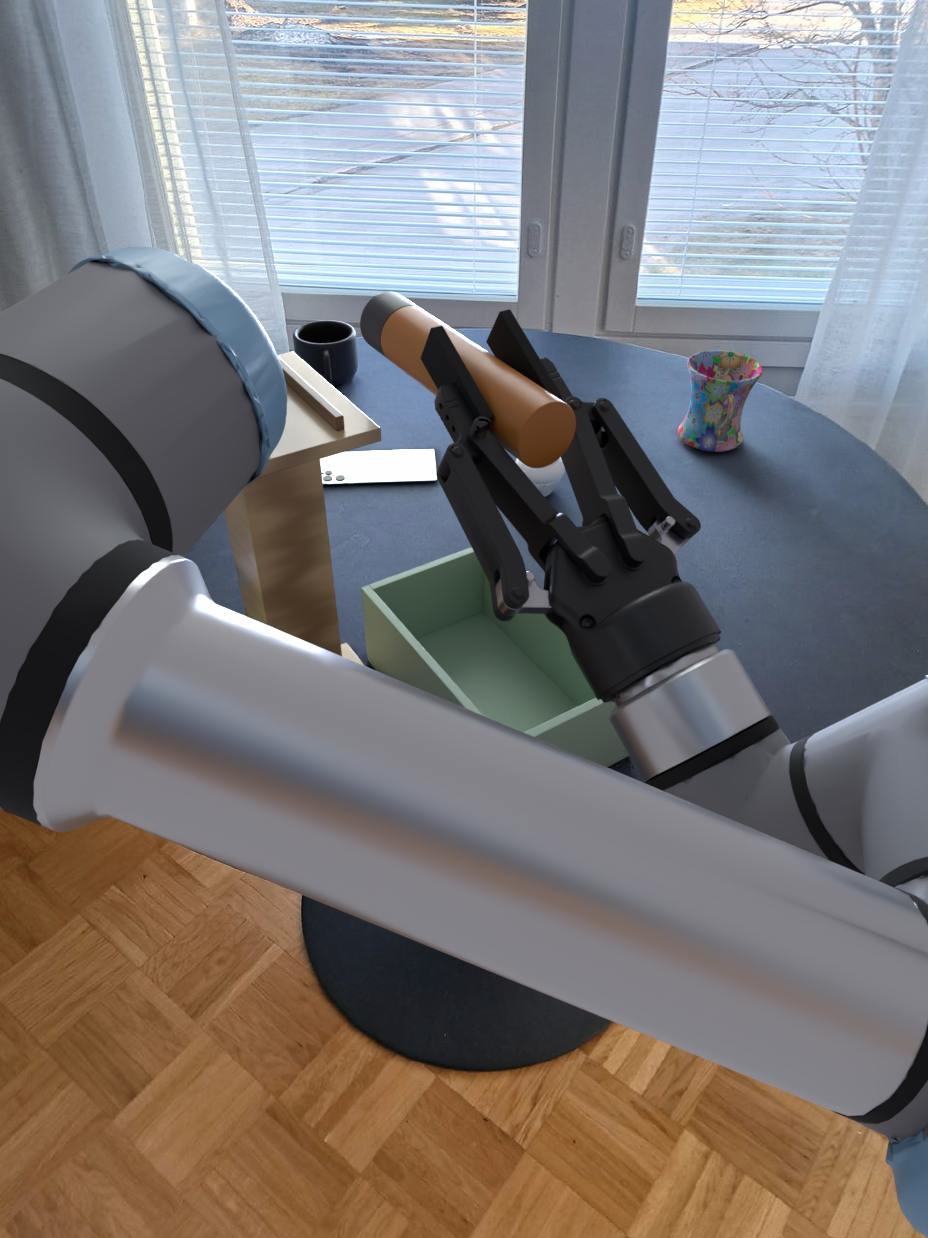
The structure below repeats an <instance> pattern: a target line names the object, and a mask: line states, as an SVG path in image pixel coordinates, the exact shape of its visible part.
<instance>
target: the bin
mask: <svg viewBox="0 0 928 1238" xmlns="http://www.w3.org/2000/svg"><path fill="white" fill-rule="evenodd" d="M360 592H361V599H362V600H361V602H362V603H361V605H362V615H363V625H364V637H365V649H366V660H367V661H368V662H369V664H371V666H372V667H373V668H374V670H375V671H378V672H380V673H382V674H385V675H387V676H390V677H392V678H394V679H397V680H399V681H402V682H404V683H406V684H409V685H411V686H414V687H416V688H418V689H421V690H423V691H425V692H428V693H430V694H433V695H435V696H437V697H440V698H442V699H445V700H447V701H449V702H452V703H454V704H457V705H459V706H461V707H464V708H466V709H468V710H471V711H473V712H476V713H478V714H480V715H483V716H485V717H488V718H490V719H492V720H495V721H497V722H500V723H502V724H504V725H507V726H509V727H511V728H514V729H516V730H519V731H521V732H523V733H526V734H528V735H531V736H533V737H535V738H538V739H540V740H543V741H545V742H547V743H550V744H552V745H554V746H557V747H559V748H562V749H564V750H566V751H569V752H571V753H574V754H576V755H578V756H581V757H583V758H586V759H588V760H590V761H593V762H595V763H597V764H600V765H602V766H605V767H607V768H609V767H610V766H613V765H614V764H616V763H618V762H620V761H621V760H623V759H625V758H627V757H629V755H628V753H627V751H626V749H625V748H624V746H623V744H622V742H621V740H620V738H619V737H618V735H617V733H616V731H615V729H614V728H613V726H612V724H611V722H610V720H609V716H610V712H611V711H612V710H614V709H615V707H614V705H613V704H612V702H611V701H610V702H606V703H604V702H602V700H597V698H596V697H595V695H594V693H593V691H592V690H591V688H590V686H589V684H588V682H587V681H586V679H585V677H584V675H583V673H582V672H581V670H580V668H579V666H578V665H577V663H576V661H575V659H574V657H573V655H572V653H571V650H570V646H569V643H568V640H567V638H566V636H565V634H564V633H563V632H562V631H561V630H560V629H559V628H558V627H557V626H555V625H554V624H553V623H551V622H550V621H549V620H548V619H547V618H546V616H545V615H544V614H516V615H515V616H514V617H513V618H512V619H511V620H509V621H501V620H499V619H497V617H496V616H495V615H494V612H493V605H492V597H491V589H490V582H489V580H488V579H487V577H486V575H485V573H484V571H483V569H482V567H481V565H480V563H479V561H478V559H477V557H476V555H475V553H474V551H473V549H472V547H471V546H470V547H468V548H466V549H463V550H460V551H457V552H454V553H452V554H448V555H446V556H444V557H441V558H438V559H435V560H433V561H430V562H427V563H424V564H421V565H420V566H416V567H414V568H411V569H408V570H405V571H403V572H399V573H398V574H395V575H392V576H389V577H386V578H382V579H381V580H379V581H378V580H377V581H375V582H373V583H370V584H368V585H364V586H362V587H361V589H360Z"/></svg>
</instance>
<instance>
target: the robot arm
mask: <svg viewBox="0 0 928 1238" xmlns="http://www.w3.org/2000/svg"><path fill="white" fill-rule="evenodd" d="M486 344H487V345H488V347H489V348H490V351H491V353H492V355H493V356H495V357H496V358H498V359H499V360H501V361H502V362H504V363H505V364H507V365H508V366H510V367H511V368H513V369H515V370H516V371H518V372H519V373H521V374H522V375H524V376H525V377H527V378H528V379H530V380H531V381H533V382H534V383H536V384H537V385H539V386H540V387H542V388H543V389H545V390H546V391H548V392H550V393H551V394H553V395H554V396H556V397H557V398H559V399H560V400H562V401H563V402H565V403H566V404H568V405H569V406H570V407H571V408H572V410H573V412H574V414H575V418H576V429H575V434H574V437H573V439H572V442H571V444H570V446H569V447H568V449H567V450H566V451H565V453H564V454H563V455H562V456H561V459H562V462H563V464H564V467H565V472H566V475H567V478H568V481H569V484H570V486H571V489H572V491H573V495H574V498H575V500H576V502H577V503H576V504H577V506H578V509H579V511H580V514H581V517H582V523H581V526H577V524H575V523H574V522H573V520H572V519H571V518H570V517H569V516H568V515H567V514H566V513H563V512H558V511H557V510H556V509H555V507H554V506H553V505H552V503H550V502H549V501H548V499H547V498H546V496H545V497H544V496H543V495H542V493H541V492H540V491H539V490H538V489H537V487H536V486H535V485H534V484H533V483H532V481H531V480H530V479H529V478H528V477H527V476H526V474H525V473H524V472H523V471H522V470H521V468H520V467H519V466H518V465H517V464H516V462H515V461H516V460H514V459H513V458H512V456H511V454H510V453H509V452H508V451H507V450H505V449H504V448H503V447H502V446H501V444H500V443H499V442H498V441H497V440H496V439H495V437H494V436H493V435H492V434H491V433H490V431H489V430H488V429H489V426H490V424H491V422H492V421H493V419H494V417H495V416H494V414H493V412H492V411H491V409H490V407H489V406H488V404H487V402H486V400H485V399H484V397H483V395H482V393H481V392H480V390H479V388H478V386H477V385H476V383H475V381H474V380H473V378H472V376H471V374H470V373H469V371H468V369H467V367H466V366H465V364H464V362H463V360H462V359H461V357H460V355H459V353H458V352H457V350H456V348H455V347H454V345H453V343H452V341H451V340H450V338H449V336H448V334H447V333H446V331H445V329H444V327H443V326H442V325H441V326H437V327H433V328H431V329H430V332H429V335H428V338H427V341H426V344H425V346H424V349H423V352H422V355H421V358H420V359H421V361H422V362H423V364H424V366H425V368H426V370H427V371H428V373H429V375H430V377H431V378H432V380H433V382H434V384H435V386H436V387H437V389H438V393H437V396H435V399H434V401H433V402H434V408H435V409H434V410H435V411H436V413H437V415H438V417H439V419H440V420H441V422H442V424H443V425H444V427H445V430H446V431H447V433H448V435H449V436H450V438H451V440H452V443H450V444H448V446H447V447H446V450H445V452H444V454H443V457H442V459H441V460H440V463H439V465H438V467H437V468H436V476H437V481H438V483H439V485H440V487H441V489H442V491H443V493H444V495H445V498H446V499H447V501H448V503H449V504H450V506H451V509H452V511H453V513H454V515H455V517H456V519H457V520H458V523H459V524H460V527H461V528H462V531H463V533H464V535H465V537H466V538H467V541H468V543H469V544H470V548H471V547H472V549H473V551H474V553H475V555H476V557H477V559H478V561H479V563H480V565H481V567H482V569H483V571H484V573H485V575H486V577H487V579H488V580H489V582H490V589H491V597H492V605H493V612H494V615H495V616H496V617H497V619H499V620H501V621H509V620H511V619H512V618H513V617H514V616H515V615H516V614H544V615H545V616H546V618H547V619H548V620H549V621H550V622H551V623H553V624H554V625H555V626H557V627H558V628H559V629H560V630H561V631H562V632H563V633H564V634H565V636H566V638H567V640H568V643H569V646H570V650H571V653H572V655H573V657H574V659H575V661H576V663H577V665H578V666H579V668H580V670H581V672H582V673H583V675H584V677H585V679H586V681H587V682H588V684H589V686H590V688H591V690H592V691H593V693H594V695H595V697H596V698H597V700H602V702H604V703H606V702H610V701H611V702H612V704H613V705H614V707H615V709H614V710H612V711H611V712H610V716H609V720H610V722H611V724H612V726H613V728H614V729H615V731H616V733H617V735H618V737H619V738H620V740H621V742H622V744H623V746H624V748H625V749H626V751H627V753H628V755H629V756H628V757H629V758H630V760H631V763H632V764H633V766H634V767H635V769H636V771H637V773H638V775H639V776H640V778H641V780H642V781H641V780H638V779H635V778H634V777H631V776H629V775H626V774H624V773H621V772H619V771H617V770H614V769H612V768H609V767H605V766H602V765H600V764H597V763H595V762H593V761H590V760H588V759H586V758H583V757H581V756H578V755H576V754H574V753H571V752H569V751H566V750H564V749H562V748H559V747H557V746H554V745H552V744H550V743H547V742H545V741H543V740H540V739H538V738H535V737H533V736H531V735H528V734H526V733H523V732H521V731H519V730H516V729H514V728H511V727H509V726H507V725H504V724H502V723H500V722H497V721H495V720H492V719H490V718H488V717H485V716H483V715H480V714H478V713H476V712H473V711H471V710H468V709H466V708H464V707H461V706H459V705H457V704H454V703H452V702H449V701H447V700H445V699H442V698H440V697H437V696H435V695H433V694H430V693H428V692H425V691H423V690H421V689H418V688H416V687H414V686H411V685H409V684H406V683H404V682H402V681H399V680H397V679H394V678H392V677H390V676H387V675H385V674H382V673H380V672H378V671H376V669H373V668H370V667H368V666H366V665H365V666H363V665H361V664H359V663H356V662H354V661H351V660H349V659H347V658H344V657H342V656H340V655H337V654H335V653H332V652H330V651H328V650H325V649H323V648H320V647H318V646H316V645H313V644H311V643H308V642H306V641H304V640H301V639H299V638H297V637H294V636H292V635H289V634H287V633H285V632H282V631H280V630H277V629H275V628H273V627H270V626H268V625H265V624H263V623H261V622H258V621H256V620H254V619H251V618H249V617H246V615H245V614H241V613H240V612H237V611H235V610H233V609H230V608H227V607H225V606H222V605H220V604H218V603H216V602H215V601H214V599H212V597H211V595H210V592H209V590H208V586H207V585H206V582H205V580H204V577H203V575H202V573H201V570H200V568H199V567H198V565H197V564H196V562H195V561H193V560H191V559H188V558H186V556H187V555H188V554H189V553H190V552H191V551H192V549H193V548H194V547H195V546H196V544H197V543H198V542H199V540H200V539H201V538H202V537H203V536H204V534H205V533H206V532H207V531H208V530H209V529H210V528H211V526H212V525H213V524H214V523H215V522H216V521H217V519H218V518H219V517H220V516H221V515H222V513H223V512H225V511H224V510H225V509H226V508H227V506H228V505H229V504H230V503H231V502H232V501H233V500H234V498H235V497H236V496H237V495H238V494H239V493H240V491H241V490H242V489H243V488H244V487H245V486H247V485H250V484H251V483H252V482H253V481H254V480H255V479H257V478H258V477H260V476H261V474H262V471H263V470H264V468H265V467H266V465H267V462H268V458H269V457H270V455H271V454H272V452H273V451H274V449H275V448H276V446H277V445H278V443H279V441H280V439H281V437H282V434H283V431H284V428H285V424H286V415H287V388H286V382H285V377H284V373H283V370H282V366H281V363H280V360H279V358H278V353H277V351H276V348H275V347H274V344H273V342H272V340H271V339H270V337H269V334H268V333H267V331H266V329H265V328H264V326H263V324H262V323H261V322H260V321H259V319H258V317H257V316H256V314H255V313H254V312H253V311H252V310H251V308H250V307H249V306H248V305H247V304H246V302H245V301H244V300H243V299H242V298H241V297H240V296H239V294H237V292H235V291H234V290H233V288H231V287H230V286H229V285H228V284H227V283H225V282H224V280H222V279H221V278H220V277H218V275H215V274H214V273H213V272H212V271H210V270H208V269H206V268H205V267H204V266H202V265H200V264H197V263H193V262H192V261H189V260H188V259H185V258H183V257H180V256H179V255H178V254H176V253H174V252H173V251H170V250H166V249H162V248H158V247H153V246H127V247H121V248H118V249H115V250H112V251H109V252H107V253H105V254H94V255H90V256H87V257H85V258H82V260H79V261H77V262H76V263H75V265H73V267H71V269H70V270H69V271H68V272H67V274H66V275H64V276H62V277H60V278H59V279H57V280H55V281H54V282H52V283H50V284H48V285H47V286H44V287H43V288H41V289H39V290H38V291H36V292H34V293H33V294H31V295H29V296H28V297H25V298H24V299H22V300H20V301H18V302H16V303H15V304H13V305H12V306H10V307H8V308H6V309H4V310H3V311H1V312H0V810H2V811H4V812H5V813H8V814H11V815H14V816H16V817H17V818H21V819H23V820H26V821H28V822H31V823H33V824H35V825H38V826H40V827H43V828H45V829H47V830H50V831H53V832H56V833H59V834H61V833H62V834H63V833H69V832H71V831H74V830H76V829H79V828H82V827H84V826H87V825H91V824H92V823H95V822H98V821H101V820H103V819H106V818H107V819H108V818H111V819H114V820H117V821H120V822H122V823H124V824H127V825H128V826H129V825H130V826H132V827H134V828H137V829H139V830H141V831H145V832H146V833H149V834H151V835H154V836H156V837H159V838H162V839H164V840H166V841H169V842H171V843H173V844H177V846H181V847H183V848H185V849H188V850H191V851H193V852H196V853H198V854H200V855H203V856H206V857H208V858H211V859H213V860H215V861H218V862H220V863H222V864H225V865H228V866H230V867H231V868H235V869H238V870H240V871H242V872H244V873H247V874H250V875H252V876H254V877H257V878H259V879H262V880H264V881H267V882H270V883H272V884H274V885H277V886H279V887H281V888H284V889H286V890H289V891H291V892H294V893H296V894H299V895H301V896H304V897H307V898H308V899H311V900H313V901H316V902H319V903H321V904H323V905H326V906H328V907H331V908H333V909H336V910H338V911H340V912H343V913H345V914H347V915H350V916H354V917H355V918H358V919H360V920H362V921H365V922H367V923H370V924H373V925H376V926H377V927H380V928H382V929H385V930H388V931H389V932H392V933H395V934H396V935H400V936H402V937H404V938H406V939H410V940H412V941H414V942H417V943H419V944H421V945H423V946H426V947H429V948H431V949H434V950H437V951H438V952H442V953H444V954H446V955H448V956H451V957H453V958H455V959H457V960H461V961H463V962H466V963H468V964H470V965H473V966H476V967H478V968H481V969H483V970H485V971H487V972H491V973H493V974H495V975H497V976H500V977H502V978H505V979H507V980H510V981H513V982H515V983H517V984H520V985H523V986H525V987H527V988H530V989H532V990H533V991H536V992H539V993H542V994H544V995H547V996H550V997H552V998H554V999H556V1000H559V1001H561V1002H564V1003H566V1004H569V1005H571V1006H574V1007H576V1008H579V1009H581V1010H584V1011H586V1012H588V1013H591V1014H593V1015H596V1016H597V1017H600V1018H603V1019H606V1020H608V1021H610V1022H613V1023H615V1024H618V1025H620V1026H623V1027H626V1028H627V1029H631V1030H632V1031H635V1032H637V1033H639V1034H642V1035H645V1036H648V1037H649V1038H652V1039H655V1040H657V1041H659V1042H662V1043H665V1044H667V1045H669V1046H671V1047H675V1048H677V1049H680V1050H682V1051H684V1052H685V1053H686V1052H687V1053H689V1054H692V1055H693V1056H696V1057H699V1058H702V1059H704V1060H707V1061H709V1062H712V1063H714V1064H717V1065H719V1066H721V1067H724V1068H726V1069H728V1070H731V1071H733V1072H736V1073H738V1074H741V1075H743V1076H746V1077H747V1078H750V1079H753V1080H755V1081H758V1082H760V1083H762V1084H765V1085H768V1086H770V1087H772V1088H775V1089H777V1090H780V1091H782V1092H784V1093H787V1094H790V1095H792V1096H795V1097H796V1098H799V1099H802V1100H804V1101H806V1102H809V1103H811V1104H815V1105H817V1106H819V1107H821V1108H824V1109H826V1110H829V1111H831V1112H833V1113H835V1114H836V1115H839V1116H842V1117H845V1118H847V1119H849V1120H852V1121H854V1122H856V1123H858V1124H860V1125H861V1126H864V1127H865V1128H867V1129H870V1130H872V1131H874V1132H876V1133H878V1134H881V1135H883V1136H885V1137H886V1139H887V1140H888V1144H887V1149H886V1154H885V1163H886V1164H887V1165H888V1166H890V1168H891V1169H890V1170H891V1171H892V1174H893V1179H894V1186H895V1192H896V1200H897V1202H898V1206H899V1209H900V1211H901V1213H902V1214H903V1215H904V1217H905V1219H906V1220H907V1221H908V1223H909V1224H910V1226H911V1228H912V1229H913V1230H915V1231H916V1232H918V1233H919V1234H921V1235H923V1236H924V1237H926V1238H928V674H926V675H925V676H924V679H922V680H920V681H918V682H916V683H914V684H911V685H910V686H908V687H905V688H903V689H902V690H899V691H897V692H894V693H893V694H892V695H889V696H887V697H885V698H884V699H881V700H879V701H877V702H874V703H873V704H871V705H869V706H867V707H866V708H863V709H861V710H859V711H857V712H855V713H853V714H851V715H849V716H847V717H845V718H843V719H841V720H838V721H837V722H835V723H833V724H831V725H829V726H827V727H825V728H823V729H821V730H819V731H817V732H813V733H811V734H809V735H808V736H806V737H805V736H804V737H803V738H801V739H799V740H798V741H795V742H792V743H791V741H790V740H789V739H788V737H787V736H786V734H785V733H784V732H783V730H782V728H781V727H779V725H780V724H778V722H777V720H776V718H775V717H774V715H773V714H772V712H771V711H770V709H769V708H768V705H766V703H765V701H764V699H763V697H762V696H761V694H760V692H759V691H758V688H757V687H756V685H755V684H754V682H753V680H752V678H751V677H750V675H749V674H748V671H747V670H746V669H745V667H744V665H743V663H742V662H741V660H740V658H739V657H738V655H737V653H736V652H735V650H732V649H729V648H725V649H722V650H720V649H719V648H718V646H717V645H716V644H717V643H718V642H719V641H720V640H721V633H722V630H721V629H720V626H719V625H718V624H717V622H716V620H715V618H714V617H713V615H712V613H711V612H710V610H709V609H708V607H707V605H706V603H705V602H704V600H703V599H702V597H701V596H700V593H699V592H698V591H697V589H696V588H695V586H694V585H693V584H692V583H690V582H688V581H683V579H682V578H681V576H680V573H679V568H678V561H677V557H676V554H677V552H678V551H679V550H680V549H681V548H682V547H683V546H684V545H686V543H688V542H689V540H691V539H692V538H693V537H694V536H695V535H696V534H698V532H700V530H701V528H702V526H701V521H700V520H699V518H698V517H697V516H696V515H695V514H693V513H692V512H691V511H690V510H689V509H688V508H687V507H686V506H684V505H683V504H682V503H681V502H680V501H678V499H676V498H675V496H674V495H673V493H672V492H671V491H670V489H669V487H668V486H667V484H666V483H665V481H664V480H663V478H662V476H660V474H659V472H658V471H657V469H656V468H655V466H654V465H653V463H652V462H651V460H650V459H649V457H648V456H647V454H646V453H645V451H644V450H643V448H642V446H641V445H640V444H639V442H638V440H637V439H636V437H635V436H634V434H633V433H632V431H631V429H630V428H629V427H628V425H627V423H626V422H625V421H624V419H623V418H622V416H621V414H620V413H619V412H618V410H617V409H616V407H615V405H614V404H613V402H611V400H610V399H608V398H605V397H599V398H597V399H596V400H594V401H595V402H592V401H591V402H590V401H589V402H587V401H583V400H581V398H579V397H577V396H574V395H573V394H572V392H571V390H570V389H569V387H568V385H567V384H566V382H565V381H564V379H563V377H562V376H561V374H560V372H559V371H558V369H557V367H556V365H555V364H554V362H553V361H551V360H550V359H549V358H548V357H547V356H546V357H542V358H540V357H539V355H538V353H537V352H536V350H535V348H534V347H533V345H532V343H531V341H530V339H529V338H528V336H527V335H526V333H525V332H524V330H523V328H522V326H521V325H520V323H519V321H518V320H517V318H516V317H515V315H514V313H513V311H512V310H511V309H510V308H509V309H505V310H501V311H499V312H498V314H497V316H496V319H495V321H494V323H493V325H492V328H491V329H490V332H489V334H488V337H487V339H486ZM501 513H502V514H501ZM632 514H633V515H632ZM502 515H504V517H505V518H506V519H507V521H508V522H509V523H510V525H511V526H512V527H513V528H514V529H515V530H516V532H517V533H518V534H519V535H520V536H521V537H522V539H523V540H524V541H525V542H526V545H527V550H528V553H529V555H530V556H531V557H532V559H533V560H534V561H535V562H536V563H537V564H538V566H539V567H540V568H541V570H542V571H543V572H544V579H543V588H542V587H541V586H539V584H538V583H537V580H536V574H535V573H534V572H533V571H530V570H528V571H527V569H526V565H525V561H524V558H523V555H522V553H521V551H520V549H519V547H518V545H517V543H516V541H515V539H514V537H513V535H512V533H511V532H510V529H509V528H508V526H507V524H506V521H505V520H504V517H503V516H502ZM633 516H634V517H635V519H636V520H637V523H639V525H640V526H641V527H642V528H643V529H644V531H645V532H646V533H647V534H646V533H645V532H643V531H641V530H640V529H638V527H637V525H636V523H635V520H634V518H633ZM771 714H772V715H771Z"/></svg>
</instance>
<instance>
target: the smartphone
mask: <svg viewBox="0 0 928 1238" xmlns="http://www.w3.org/2000/svg"><path fill="white" fill-rule="evenodd" d="M320 464H321V473H322V482H323V487H324V486H353V485H385V484H414V483H415V484H418V483H419V484H420V483H437V481H438V479H437V476H436V472H437V463H436V455H435V449H434V448H430V449H429V448H428V449H426V448H425V449H392V450H361V451H360V450H358V451H357V450H355V451H353V450H352V451H345V452H342V453H339V454H335V455H332V456H328V457H325V458H322V459H320Z"/></svg>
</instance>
